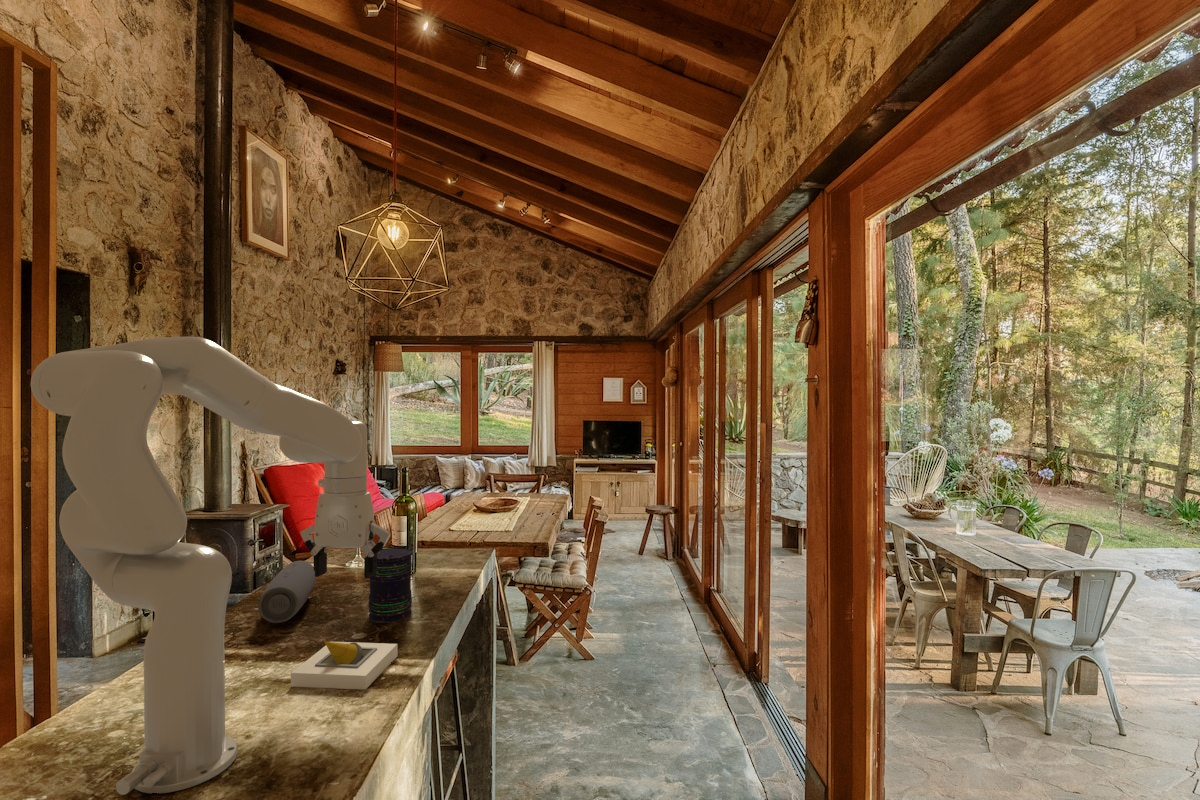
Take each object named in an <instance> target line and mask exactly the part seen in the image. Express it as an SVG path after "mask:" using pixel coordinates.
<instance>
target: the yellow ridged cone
mask: <svg viewBox="0 0 1200 800" xmlns="http://www.w3.org/2000/svg"><path fill="white" fill-rule="evenodd" d="M335 642H336V641H324V644H325V646H327V648H328V650H329V651H330V653H331V655H332V657H333V658H334V660H335V662H336V664H349V665H356V664H357V663H358V662H360V661H361V660H362V659H363V658H364V656H363V655H362V647H361V646H360V645H358V644H357V643H358V642H357V643H350V644H345V643H335Z"/></svg>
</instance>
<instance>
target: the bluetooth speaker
mask: <svg viewBox="0 0 1200 800" xmlns="http://www.w3.org/2000/svg"><path fill="white" fill-rule="evenodd" d="M316 579H317V577H315V571H314V565H313V564H311V563H310V562H308V561H306V560H295V561H292V562H290V563H289V564H287V565H286V566H284V567H283V568H282V569H281V570H280V571H279V572H278V573H277V574H276V575H275V576H274V577H273V579H272V580H271V581H270V582H269V583H268V585H267V587H266V588H265V589H264V591H263V593H262V595H261V597H260V599H259V602H258V612H259V615H261V617H262V618H263V620H265V621H267V622H269V623H273V624H279V623H284V622H287V621H289V620H291V618H293V617H294V616H295V615H296V614H297V613H298V612H299V611H300V609H301V608H302V607H303V606H304V605H305V603H306V602H307V600H308V599H309V597H310V595H311V592H312V590H313V588H314V586H315V584H316Z"/></svg>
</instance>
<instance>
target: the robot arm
mask: <svg viewBox="0 0 1200 800" xmlns="http://www.w3.org/2000/svg"><path fill="white" fill-rule="evenodd" d="M30 389H31V394H32V395H33V397H34V399H35V400H36V401H37V403H38V404H40V405H41V407H43V408H44V409H46V410H48V411H49V412H51V413H55V414H57V415H60V416H66V417H70V419H69V421H68V425H67V428H66V430H65V435H64V438H63V443H62V448H61V450H62V453H61V454H62V455H61V456H62V461H63V465H64V468H65V471H66V473H67V475H68V477H69V479H70V480H71V482H72V483H73V485H74V487H75V488H76V489H75V490H74V491H73V492H72V493H71V494H70V495H69V496H68V497H67V498H66V499H65V502H64V503H63V505H62V507H61V509H60V514H59V518H58V519H59V521H58V523H59V530H60V533H61V536H62V538H63V541H64V542H65V545H66V546H67V547H68V548H69V550H70V551H71V552H72V554H73V555H74V556H75V558H76V559H77V560H78V562H79V564H80V565H81V566H82V567H83V568H84V570H85V571H86V572H87V574H88V576H90V577H91V579H92V580H93V582H94V583H95V584H96V585H97V587H98V588H99V589H100V591H101V592H102V593H104V595H105V596H106V597H108V599H110V600H111V601H113V602H115V603H116V604H119V605H122V606H126V607H130V608H137V609H143V610H147V611H151V612H154V617H153V618H154V619H153V621H152V624H151V626H150V628H149V630H148V633H147V635H146V637H145V641H144V645H143V646H144V647H143V663H142V664H143V665H142V666H143V703H144V704H143V708H144V710H143V716H144V717H143V718H144V721H143V723H144V724H143V725H144V729H143V731H144V736H143V737H144V750H143V751H141V752H140V753H139V754H138V757H139V760H138V762H137V763H136V764H135V765H134V767H133V768H132V769H131V772H129V773H128V774H126V775H125V776H123V778H121V779H119V780H118V781H117V782H116V784H115V790H116V792H117V793H118V794H119V795H123V796H124V795H127V794H129V793H130V792H131V791H132V790H136V791H138V792H141V793H144V794H152V793H157V794H156V795H159V794H167V793H173V792H178V791H182V790H185V789H186V790H187V789H190V788H192V787H195V786H197V785H201V784H203V783H204V782H207V781H209V780H211V779H213V778H214V777H216V776H218V775H220V774H221V773H222V772H224V771H225V770H226V769H227V768H229V766H231V765H232V764H233V762H234V761H235V760H236V758H237V756H238V751H239V749H238V742H237V741H236V740H235V739H234V738H233V737H231V736H229V735H226V696H225V695H226V689H225V688H226V687H225V686H226V681H225V679H226V678H225V677H226V676H225V674H226V673H225V671H226V670H225V665H226V662H225V661H226V660H225V659H226V658H225V622H226V612H227V606H228V601H229V600H228V599H229V595H230V590H231V586H232V579H233V576H232V575H233V574H232V573H233V571H232V567H231V564H230V562H229V560H228V559H227V557H226V556H225V555H224V554H223V553H222V552H221V551H219V550H217V549H215V548H213V547H210V546H207V545H202V544H199V543H198V544H197V543H191V542H190V543H189V542H182V541H181V540H182V539H183V538H184V535H185V534H186V531H187V527H188V518H187V513H186V511H185V508H184V506H183V504H182V503H181V500H180V499H179V497H178V496H177V494H176V493H175V491H174V489H173V487H172V485H170V483H169V480H168V479H167V478H166V476H165V474H164V473H163V472H162V470H161V468H160V467H159V465H158V464H157V461H156V460H155V458H154V456H153V453H152V452H151V450H150V447H149V443H148V438H147V437H148V434H147V433H148V428H149V423H150V420H151V418H152V416H153V413H154V411H155V409H156V407H157V405H158V403H160V399H161V398H162V396H163V395H169V396H170V395H171V396H172V395H175V396H176V395H178V396H183V397H185V398H188V399H189V400H191V401H193V402H195V403H197V404H198V405H200V406H203V407H204V408H206V409H208V410H210V411H211V412H213V413H215V414H216V415H218V416H220V417H221V418H223V419H225V420H227V421H228V422H230V423H231V424H233V425H235V426H237V427H239V428H242V429H246V430H247V431H248V430H249V431H250V432H251V431H252V432H255V433H258V434H259V433H260V434H265V435H271V436H278V437H279V444H278V445H279V448H280V451H281V452H282V454H283V455H284V456H285V457H286V458H287V459H289V460H290V461H294V462H296V463H297V462H298V463H304V464H307V463H308V464H324V476H323V478H322V479H318V482H317V485H318V486H319V487H322V488H323V491H324V492H322V493H319V496H318V500H317V504H316V505H317V506H316V511H315V517H314V524H312V525H310V526H309V527H307V528H305V529H302V530H301V531H300V537H301V538H302V540H303V542H304V545H305V547H306V548H307V549H308V550H309V551H310V555H311V556H312V557H313V567H314V571H315V577H316V578H319V577H321V576H323V575H324V574H326V573H328V553H327V552H326V549H327V548H332V549H333V548H334V549H335V548H336V549H359V548H361V549H362V550H363V552H364V553H365V554H366V556H365V557H364V559H363V562H364V563H363V564H364V565H363V567H364V569H363V571H364V572H363V577H364V578H365V579H369V578H370V577H372V576H373V575H375V572H376V570H377V554H378V553H379V552H380V551H381V550H382V549H385V546H386V545H387V543H388V541H389V539H390V537H391V535H392V534H391V532H390V531H389V530H387V529H386V528H384V527H382V526H380V525H378V524H376V523H375V513H374V506H373V500H372V496H371V492H370V491H368V427H367V424H366V423H364V422H362V421H359V420H358V421H357V420H351V419H349V418H348V417H346V415H344V414H343V413H341V412H340V411H338V410H337V409H336V408H333V407H332V406H331V405H328V404H326V403H324V402H321V401H320V400H317V399H315V398H313V397H309V396H307V395H305V394H303V393H300V392H298V391H295V390H292V389H290V388H288V387H285V386H282V385H280V384H278V383H277V384H276V383H275V382H273V381H272V380H271V379H268V378H267V377H265V376H264V375H263V374H261V373H260V372H258V371H256V369H254V368H252V367H251V366H250V365H248V364H247V363H245V362H244V361H243V360H241V359H239V358H238V357H237V356H235V355H234V354H232V353H231V352H229V351H228V350H226V349H225V348H224V347H222V346H220V345H219V344H217V342H214V341H212V340H210V339H207V338H205V337H200V336H171V337H170V336H167V337H154V338H153V337H152V338H146V339H139V340H134V341H128V342H121V343H117V344H111V345H110V344H109V345H102V346H97V347H90V348H89V347H88V348H82V349H75V350H68V351H63V352H58V353H55V354H53V355H50V356H48V357H47V358H45V359H44V360H42V361H41V362H40V363H39V364H37V366H36V367H35V369H34V370H33V372H32V375H31V378H30ZM375 535H377V536H378V537H379V540H378V542H377V543H375V542H374V539H375ZM180 541H181V542H180ZM158 793H159V794H158Z"/></svg>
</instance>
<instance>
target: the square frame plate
mask: <svg viewBox="0 0 1200 800" xmlns="http://www.w3.org/2000/svg"><path fill="white" fill-rule="evenodd" d="M334 642H335V643H345V644H350V643H357V644H358V645H360V646H361V647H362V655H363V656H364V658H363V659H362V660H361V661H360V662H358V663H357V664H356V665H349V664H336V662H335V660H334V658H333V657H332V655H331V653H330V651H329V650H328V648H327V646H326V645H324V646H323V647H322V648H321V649H319V650H318V651H317V652H315V653H314V654H313V655H312V656H311V657H309V658H308V659H307V660H305V661H304V662H303V663H301V664H300V665H299V666H298V667H296V668H295V669H294V670H293V671H291V672H290V687H292V688H293V687H294V688H313V689H314V688H317V689H319V688H320V689H337V690H338V689H341V690H343V689H345V690H361V691H362V690H367V689H368V688H369V687H370V686H371V685H372V684H373V683H374V682H375V680H377V678H379V676H380V675H382V673H383V672H384V671H385V670H386V669H387V668H388V667H389V666H390V665H391V664H392V663H393V661H394V660H395V659H397V657H398V656H399V655H398V654H399V653H398V643H387V642H386V643H382V642H381V643H380V642H379V643H378V642H358V641H357V642H355V641H354V642H353V641H352V642H351V641H348V642H347V641H334ZM391 662H392V663H391Z"/></svg>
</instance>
